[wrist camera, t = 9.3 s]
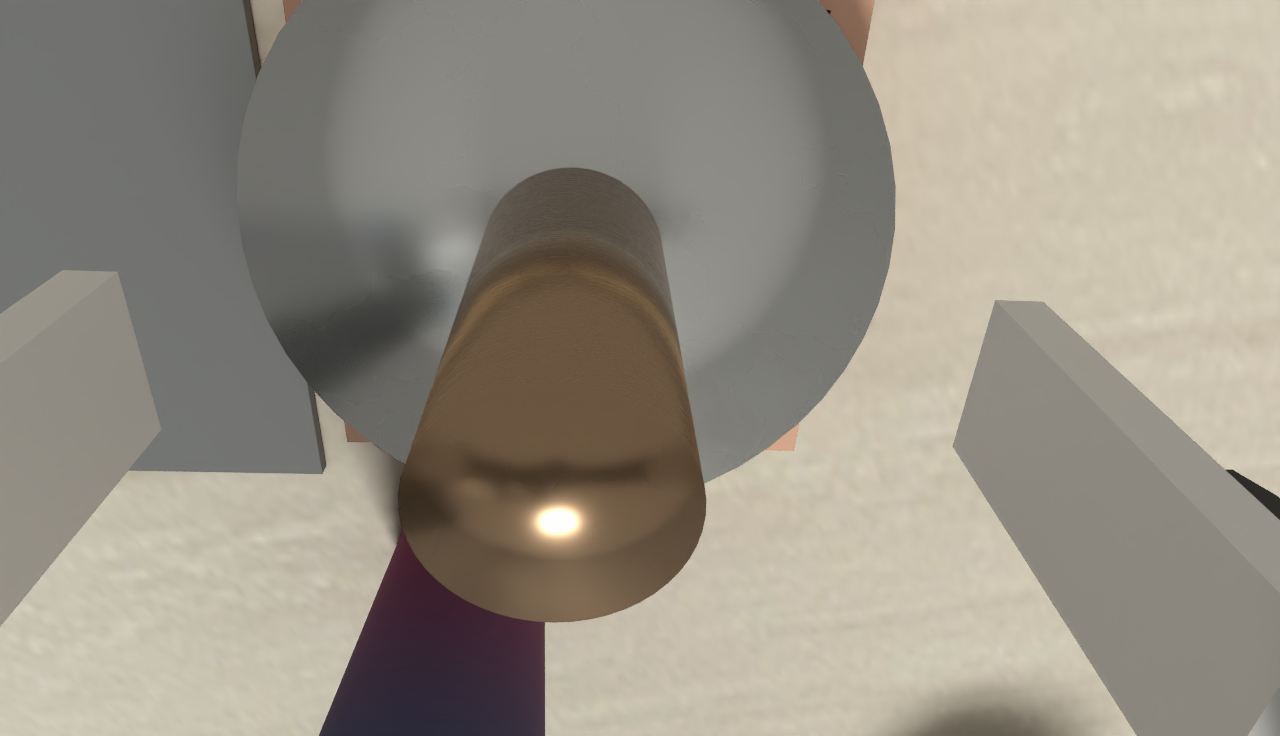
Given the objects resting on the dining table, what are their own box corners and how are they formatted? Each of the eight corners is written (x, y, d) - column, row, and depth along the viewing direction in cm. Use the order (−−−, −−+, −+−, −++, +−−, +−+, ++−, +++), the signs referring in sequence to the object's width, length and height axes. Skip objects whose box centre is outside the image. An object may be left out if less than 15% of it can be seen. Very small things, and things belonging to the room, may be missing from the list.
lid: (307, 472, 21) (121, 841, 13) (198, -143, 14) (-325, -188, 6) (823, 483, 21) (955, 833, 13) (942, -94, 15) (1334, -79, 7)
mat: (-136, 457, 26) (-147, 465, 25) (-390, -47, 19) (-408, -46, 18) (325, 466, 27) (322, 473, 26) (247, -13, 20) (241, -11, 19)
